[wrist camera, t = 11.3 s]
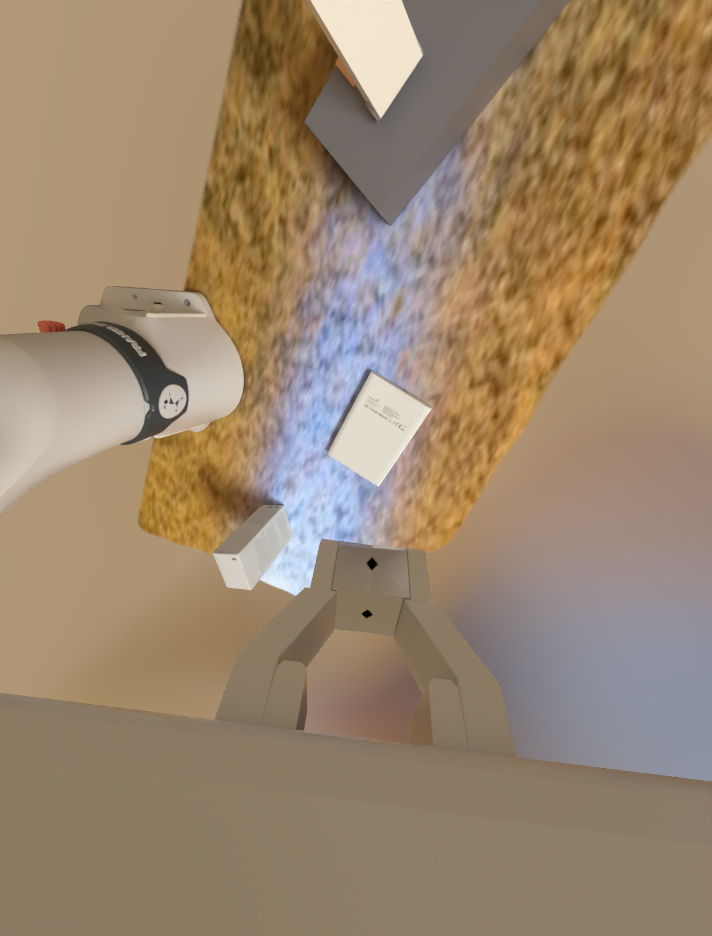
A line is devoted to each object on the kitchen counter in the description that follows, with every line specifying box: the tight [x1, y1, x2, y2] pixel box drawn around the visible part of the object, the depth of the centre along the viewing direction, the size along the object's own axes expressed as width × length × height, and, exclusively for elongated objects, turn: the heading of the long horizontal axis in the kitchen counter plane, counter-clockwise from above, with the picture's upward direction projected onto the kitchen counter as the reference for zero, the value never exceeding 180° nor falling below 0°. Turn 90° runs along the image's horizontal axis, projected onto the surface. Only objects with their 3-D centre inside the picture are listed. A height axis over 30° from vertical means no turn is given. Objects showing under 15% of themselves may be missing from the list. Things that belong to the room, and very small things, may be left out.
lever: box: [304, 0, 424, 123], centre depth 20 cm, size 2×4×11 cm, turn 136°
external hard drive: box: [328, 371, 432, 486], centre depth 41 cm, size 2×8×12 cm
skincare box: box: [213, 505, 293, 590], centre depth 48 cm, size 6×4×12 cm
